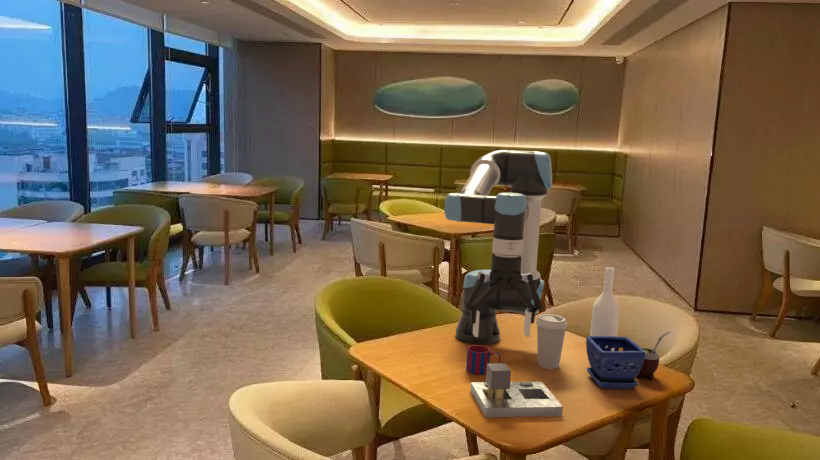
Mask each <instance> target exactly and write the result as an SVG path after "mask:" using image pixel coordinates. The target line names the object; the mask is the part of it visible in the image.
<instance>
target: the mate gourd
mask: <svg viewBox="0 0 820 460" xmlns="http://www.w3.org/2000/svg"><path fill="white" fill-rule="evenodd" d="M670 333H671V331H668V332H666V333H663V334H662V335H661V336H659V338H658V339H657V342H656V343H655V346H654V348H653V349H652V348H645V347H641V348H642V349H643V350H644V352H645V358H644V362H643V365H642V367H641V370H640V372H639V374H638V375H637V376H636V378H635V379H642V377H643V378H645V379H647V380H649V381H650V380H652V381H653V377H654V375H655V374H654V373H655V372H657V369H658V368H659V365H660V356H659V354H658V352H657V351H656V350H657V348H658V346H659V344H660V342H661V341H662V339H663V337H665V336H667V335H668V334H670Z"/></svg>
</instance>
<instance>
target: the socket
mask: <svg viewBox="0 0 820 460" xmlns="http://www.w3.org/2000/svg"><path fill="white" fill-rule="evenodd" d="M487 390H488V384H487V383H486V381H483V382H482V381H480V382H478V381H476V382H475V381H473V382H470V394H471V395H472V397H473V398H474V400H475V401H476V403H477V405H478V407H479V409H480V411H481V412H482V415H483V416H484V418H522V417H523V418H525V417H527V418H528V417H531V418H533V417H534V418H535V417H563V412H564V411H563V410H564V406H563V405H562V404H561V402H560V401H559V399H557V398H556V397H555V395H553V393H552V392H551V391H550V390H549V389H548V387H547V386H546V385H545V384H544V383H543V382H542V381H510V389H504V399H503V400H495V393H496V389H493V398H492V400H488V399H487Z"/></svg>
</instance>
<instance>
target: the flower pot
mask: <svg viewBox="0 0 820 460" xmlns="http://www.w3.org/2000/svg"><path fill="white" fill-rule="evenodd" d="M585 344H586V345H585V346H586V347H585V348H586V354H587V358H588V359H587V360H588V363H589V365H590V367H586V372H587V373H588V374H589V375H590V377H591V378H592V379H593V380H594V381H595V383H596V384H597V385H598V386H599V387H600V388H601V389H623V390H624V389H625V390H626V389H629V390H632V389H634V388H636V387H637V386H638V385H639V382H638V381H637V380H636V379H637V378H636V376H637V375H638V374H639V372H640V370H641V367H642V365H643V362H644V358H645V352H644V350H643V349H642V348H643V347H641V346H640V345H638V344H637V343H636V342H635V341H633V340H632V339H631V338H630V337H628V336H617V337H615V336H590V335H589V336H587V337H586V340H585ZM599 345H600V346H599ZM606 346H608V347H607V348H606ZM612 348H614V351H611V349H612ZM621 348H622V350H620V349H621Z"/></svg>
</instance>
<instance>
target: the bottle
mask: <svg viewBox="0 0 820 460" xmlns="http://www.w3.org/2000/svg"><path fill="white" fill-rule="evenodd" d="M614 277H615V268H614V267H611V266H609V267H608V266H606V267H605V271H604V283H603V290H602V293H601V294H600V295H599V296H598V298H597V299H596V300H595V301H594V303H593V305H592V311H591V312H592V313H591V322H590V323H591V324H590V333H589V336H615V337H618V328H619V321H620V320H619V319H620V306H619V303H618V301H617V300H616V297H615V296H614V294H613V288H614ZM599 346H600V345H599ZM607 347H608V346H606V348H607ZM611 351H614V348H612V349H611Z"/></svg>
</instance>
